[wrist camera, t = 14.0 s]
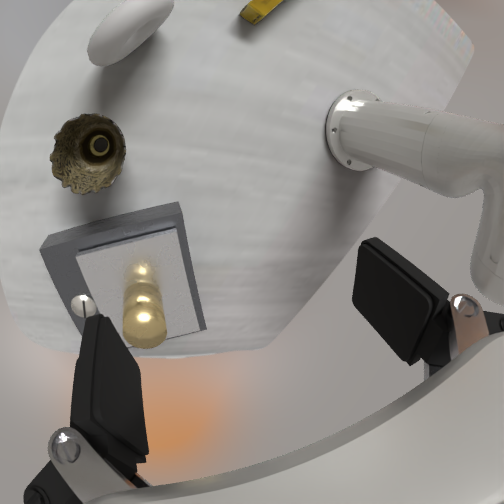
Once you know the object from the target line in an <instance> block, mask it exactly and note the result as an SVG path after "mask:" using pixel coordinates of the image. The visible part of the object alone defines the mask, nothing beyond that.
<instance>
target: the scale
mask: <svg viewBox="0 0 504 504" xmlns="http://www.w3.org/2000/svg"><path fill="white" fill-rule="evenodd" d="M175 228H176V230H177V235H178V239H179V244H180V249H181V254H182V258H183V263H184V267H185V272H186V276H187V280H188V284H189V289H190V293H191V297H192V301H193V305H194V309H195V313H196V317H197V320H198V324H199V328H200V330H199V331H202V330H206V329H207V328H206V324H205V320H204V316H203V312H202V307H201V303H200V299H199V294H198V290H197V285H196V281H195V276H194V271H193V267H192V262H191V257H190V252H189V247H188V242H187V237H186V231H185V226H184V220H183V215H182V211H181V208H180V205H179V202H174V203H169V204H165V205H160V206H156V207H152V208H147V209H143V210H139V211H135V212H131V213H127V214H123V215H119V216H115V217H111V218H107V219H103V220H100V221H96V222H92V223H89V224H85V225H82V226H78V227H75V228H71V229H68V230H64V231H61V232H58V233H54V234H51V235H48V237H47V238H46V240H45V241H44V243H43V245H42V246H41V248H40V249H39V250H40V253H41V255H42V258H43V260H44V262H45V265H46V267H47V269H48V272H49V274H50V276H51V278H52V280H53V283H54V285H55V287H56V289H57V291H58V293H59V295H60V297H61V299H62V301H63V303H64V305H65V307H66V309H67V310H68V312H69V314H70V316H71V318H72V320H73V321H74V323H75V325H76V327H77V328H78V330H79V332H80V333H81V335H82V336H83V330H84V325H85V320H86V318H87V317H89V316H93V315H97V314H100V312H99V310H98V308H97V306H96V304H95V301H94V299H93V297H92V295H91V293H90V291H89V288H88V286H87V284H86V281H85V279H84V277H83V274H82V272H81V269H80V267H79V264H78V262H77V259H76V255H77V253H78V252H82V251H85V250H89V249H93V248H97V247H100V246H104V245H108V244H112V243H116V242H120V241H124V240H128V239H132V238H136V237H140V236H145V235H149V234H153V233H157V232H161V231H166V230H170V229H175ZM196 332H198V331H196ZM192 333H194V332H192ZM188 334H190V333H188ZM184 335H186V334H184ZM180 336H182V335H180ZM175 337H178V336H175ZM171 338H174V337H171ZM167 339H170V338H167ZM165 340H166V339H165ZM131 347H134V346H131ZM127 348H130V347H127Z"/></svg>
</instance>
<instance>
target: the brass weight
mask: <svg viewBox="0 0 504 504" xmlns="http://www.w3.org/2000/svg"><path fill="white" fill-rule="evenodd" d="M166 336H167V328H166V322H165V315H164V309H163V302H162V295H161V292H160V291H159V289H158V288H157V287H155V286H154V285H152V284H150V283H146V282H139V283H135V284H132V285H131V286H129V287H128V288H127V289H126V291H125V293H124V296H123V337H124V339H125V340H126V341H127V342H128V343H129V344H130V345H132V346H134V347H137V348H143V349H148V348H153V347H156V346H158V345H160V344H161V343H162V342H163V341H164V340H165V339H166Z"/></svg>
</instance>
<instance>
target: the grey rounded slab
mask: <svg viewBox="0 0 504 504" xmlns="http://www.w3.org/2000/svg"><path fill="white" fill-rule="evenodd" d="M173 6H174V0H125V1H123V2H122V3H121V4H119V5H118V6H117V7H116V8H114V9H113V10H112V11H111V12H110V13H109V14H108V15H107V16H106V17H105V18H104V19H103V21H102V22H101V23H100V24H99V25H98V27H97V28H96V30H95V32H94V33H93V35H92V37H91V38H90V41H89V44H88V49H87V52H88V56H89V59H90V61H91V62H92V63H93V64H95V65H97V66H110V65H112V64H114V63H116V62H118V61H120V60H122V59H123V58H125V57H126V56H127V55H129V54H130V53H131V52H132V51H134V50H135V49H136V48H137V47H138V46H140V45H141V44H142V43H143V42H144V41H145V40H146V39H147V38H148V37H150V36H151V35H152V34H153V33H154V32H155V31H156V30H157V29H158V28H159V27H160V26H161V25H162V23H163V22H164V21H165V20H166V19H167V18H168V16H169V15H170V13H171V11H172V9H173Z"/></svg>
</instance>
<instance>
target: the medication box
mask: <svg viewBox="0 0 504 504" xmlns="http://www.w3.org/2000/svg"><path fill="white" fill-rule="evenodd" d="M282 1H283V0H252V1H250V2H249V3H248V4H247V5H246V6H245V7H244V8H243V9H242V11H241V12H240V14H239V15H241V16H242V17H243V18H245V19H246V20H247V21H249V22H250V23H252V24H254V25H255V24H257V23H258V22H259V21H260V20H261V19H263V18H264V17H265V16H266V15H267V14H268V13H269V12H271V11H272V10H273V9H274V8H275V7H276V6H277V5H278V4H280V3H281V2H282Z"/></svg>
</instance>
